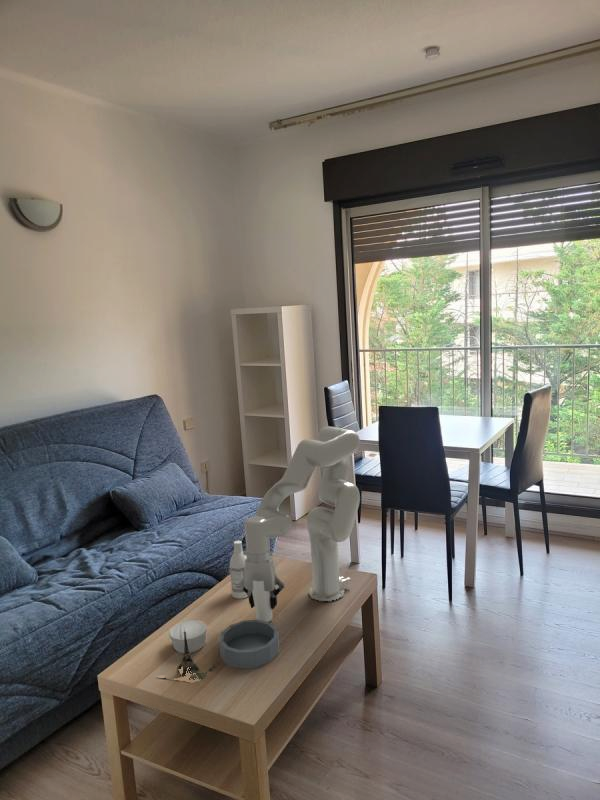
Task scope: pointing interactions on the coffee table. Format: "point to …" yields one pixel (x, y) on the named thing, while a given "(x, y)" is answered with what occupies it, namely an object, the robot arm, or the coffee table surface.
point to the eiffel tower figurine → (191, 664)
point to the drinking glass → (261, 601)
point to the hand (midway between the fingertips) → (263, 606)
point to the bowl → (249, 644)
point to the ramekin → (189, 635)
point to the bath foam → (237, 570)
